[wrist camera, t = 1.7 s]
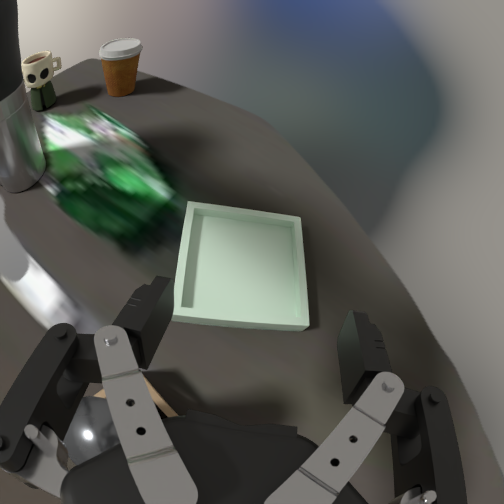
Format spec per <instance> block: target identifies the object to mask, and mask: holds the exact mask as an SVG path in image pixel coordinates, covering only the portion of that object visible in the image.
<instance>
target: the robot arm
mask: <svg viewBox="0 0 504 504" xmlns="http://www.w3.org/2000/svg"><path fill="white" fill-rule="evenodd" d="M45 168H46V161H45V158H44V155H43V152H42V149H41V145H40V142H39V139H38V135H37V132H36V128H35V125H34V121H33V118H32V114H31V110H30V106H29V102H28V97H27V93H26V89H25V84H24V79H23V74H22V68H21V56H20V48H19V38H18V9H17V0H0V185H2V186H4V188H5V190H7V191H8V192H11V193H16V192H21V191H24V190H26V189H28V188H29V187H31V186H32V185H34V184H35V183H36V182H37V181H38V180H39V179H40V178H41V176H42V175H43V173H44V171H45ZM173 312H174V281H173V279H171V278H166V277H161V276H156V277H155V279H154V280H153V282H152V283H151V285H146V284H144V285H142V286H141V287H139V288H138V289H136V290H135V292H134V293H133V294H132V296H131V298H130V299H129V300H128V302H127V304H126V305H125V306H124V307H123V309H122V310H121V312H120V313H119V315H118V316H117V318H116V319H115V321H114V322H113V324H112V325H110V326H105V327H102V328H101V329H99V330H98V331H97V332H96V334H77V333H76V330H75V328H74V327H73V326H72V325H70V324H67V323H60V324H56V325H54V326H53V327H51V328H50V329H49V330H48V332H47V333H46V334H45V336H44V337H43V339H42V340H41V342H40V343H39V344H38V346H37V347H36V349H35V350H34V352H33V353H32V355H31V356H30V358H29V359H28V361H27V362H26V364H25V366H24V367H23V369H22V370H21V372H20V373H19V375H18V377H17V378H16V380H15V382H14V383H13V385H12V386H11V388H10V390H9V392H8V393H7V395H6V397H5V398H4V400H3V402H2V404H1V405H0V467H1V468H2V469H3V470H4V471H6V472H7V473H8V474H10V475H11V476H12V477H14V478H15V479H17V480H18V481H20V482H23V483H24V484H26V485H27V486H29V487H31V488H34V489H41V490H43V491H45V492H47V493H49V494H51V495H52V496H54V497H56V498H58V499H60V500H61V503H62V504H368V503H367V502H366V500H365V499H364V498H363V497H362V496H361V495H360V494H359V493H358V491H357V490H356V489H355V488H354V487H353V486H352V485H351V483H350V482H349V479H350V478H351V477H352V476H353V474H354V473H355V472H356V470H357V469H358V468H359V466H360V465H361V463H362V462H363V461H364V459H365V458H366V456H367V455H368V454H369V452H370V451H371V449H372V448H373V446H374V445H375V443H376V442H377V440H378V439H379V437H380V435H381V434H382V432H387V433H390V434H391V444H392V456H393V470H394V490H395V498H394V499H393V500H391V501H390V502H389V504H467V496H466V488H465V481H464V474H463V468H462V462H461V457H460V452H459V447H458V442H457V437H456V433H455V429H454V424H453V420H452V416H451V412H450V409H449V405H448V401H447V398H446V396H445V394H444V393H443V392H442V391H441V390H440V389H439V388H437V387H434V386H428V387H425V388H424V389H423V390H422V391H421V393H420V392H417V391H414V390H411V389H408V388H405V387H404V384H403V382H402V380H401V379H400V378H399V377H398V376H397V375H395V374H393V373H392V370H391V366H390V362H389V359H388V355H387V352H386V349H385V345H384V342H383V338H382V334H381V332H380V331H379V329H378V328H377V327H376V325H375V324H370V322H369V319H368V315H367V313H366V312H362V311H354V310H350V311H349V312H348V315H347V317H346V319H345V322H344V324H343V326H342V329H341V331H340V333H339V336H338V341H337V349H338V357H339V365H340V373H341V382H342V391H343V401H344V404H352V406H353V407H352V408H351V410H350V411H349V412H348V413H347V415H346V416H345V417H344V418H343V420H342V421H341V422H340V423H339V424H338V426H337V427H336V428H335V429H334V430H333V432H332V433H331V434H330V435H329V436H328V437H327V439H326V440H325V441H324V442H323V443H322V444H321V445H320V446H318V445H317V444H315V443H314V442H312V441H311V440H309V439H308V438H306V437H303V436H301V435H298V434H297V427H295V426H285V425H276V424H263V425H249V426H241V425H238V424H236V423H233V422H231V421H228V420H226V419H224V418H221V417H219V416H217V415H214V414H209V413H204V412H200V411H195V410H191V409H188V410H187V413H186V416H173V417H168V418H165V419H162V420H161V418H160V416H159V414H158V411H157V409H156V407H155V404H154V402H153V400H152V397H151V395H150V392H149V390H148V387H147V385H146V382H145V380H144V377H143V374H142V372H141V370H139V368H142V369H146V370H147V369H148V367H149V365H150V363H151V361H152V358H153V356H154V354H155V352H156V350H157V348H158V346H159V343H160V341H161V339H162V337H163V335H164V333H165V331H166V329H167V327H168V325H169V323H170V320H171V318H172V316H173ZM89 383H102V384H103V387H104V391H105V395H106V398H107V402H108V405H109V409H110V412H111V415H112V418H113V422H114V425H115V428H116V431H117V434H118V437H119V440H120V442H121V443H119V444H117V445H115V446H114V447H112V448H110V449H108V450H106V451H104V452H102V453H101V454H99V455H97V456H95V457H93V458H91V459H89V460H87V461H85V462H83V463H81V464H79V465H77V466H75V467H73V468H72V469H71V470H70V471H69V470H68V467H67V461H68V450H67V447H66V446H65V444H64V443H63V440H64V438H65V436H66V433H67V431H68V429H69V426H70V424H71V422H72V420H73V417H74V415H75V413H76V411H77V408H78V406H79V404H80V402H81V400H82V398H83V396H84V393H85V391H86V389H87V387H88V385H89Z"/></svg>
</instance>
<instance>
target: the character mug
mask: <svg viewBox="0 0 504 504" xmlns="http://www.w3.org/2000/svg"><path fill="white" fill-rule="evenodd" d="M55 61H57V67H54V68H53V62H55ZM59 69H61V58H60V57H56V58H53V59H52V53H51V51H42V52H39V53H36V54H33V55H31V56H29V57H28V58H26V59H25V60H24V61H23V62H22V74H23V75H24V82H25V84H26V86H27V87H28V88H31V103H32V108H33V110H36V111H38V110H43V108H42V106H44V105H46V108H48V107H49V106H51V105H52V104H53V103H54V102H55V101H56V95H55V91H54V88H53V85H52V83H51V81H50V80H51V79H52V77H53V75H54V71H56V70H59Z"/></svg>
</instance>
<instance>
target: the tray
mask: <svg viewBox="0 0 504 504" xmlns="http://www.w3.org/2000/svg"><path fill="white" fill-rule="evenodd" d="M172 321H176V322H185V323H194V324H203V325H213V326H224V327H236V328H249V329H264V330H281V331H303V330H304V329H306V328H307V327H308V326H309V311H308V297H307V283H306V271H305V259H304V248H303V238H302V228H301V218H300V217H296V216H289V215H283V214H277V213H270V212H263V211H257V210H250V209H243V208H236V207H229V206H221V205H214V204H206V203H198V202H190V201H188V204H187V209H186V215H185V221H184V227H183V233H182V239H181V245H180V251H179V258H178V265H177V272H176V279H175V287H174V312H173V316H172Z"/></svg>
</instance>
